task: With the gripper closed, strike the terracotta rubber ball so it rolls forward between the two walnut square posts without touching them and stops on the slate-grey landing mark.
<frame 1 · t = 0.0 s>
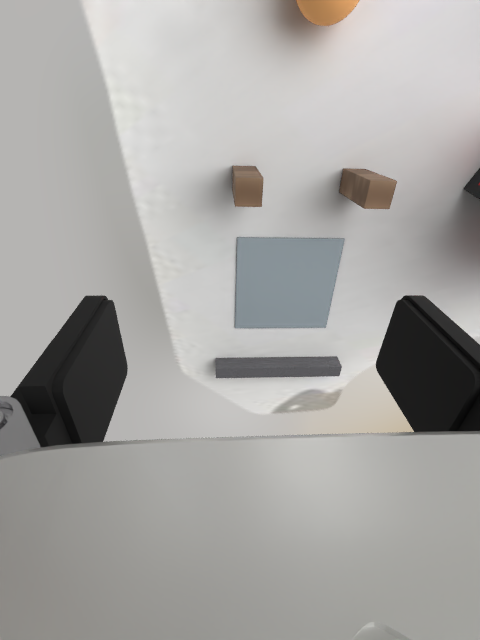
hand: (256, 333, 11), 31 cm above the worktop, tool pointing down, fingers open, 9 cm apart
post 2: (351, 180, 38), on the worktop
post 1: (243, 178, 37), on the worktop
landing mark: (285, 286, 45), on the worktop
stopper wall: (276, 362, 53), on the worktop
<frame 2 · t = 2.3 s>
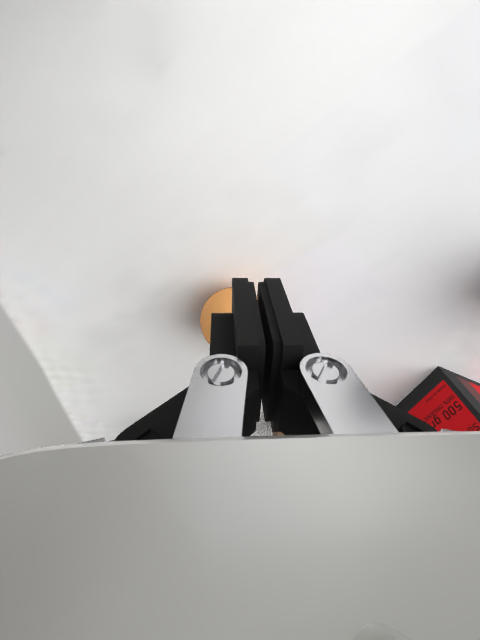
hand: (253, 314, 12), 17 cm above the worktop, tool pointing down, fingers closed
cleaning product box: (457, 407, 42), on the worktop
ball: (233, 320, 29), on the worktop
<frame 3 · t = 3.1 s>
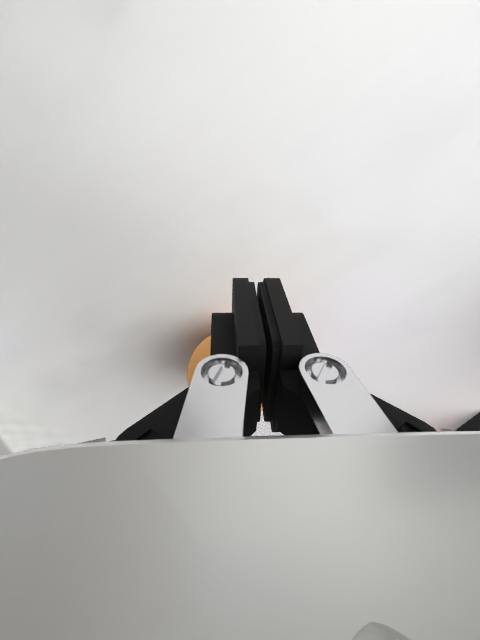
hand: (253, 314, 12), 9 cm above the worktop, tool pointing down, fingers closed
ball: (232, 374, 21), on the worktop
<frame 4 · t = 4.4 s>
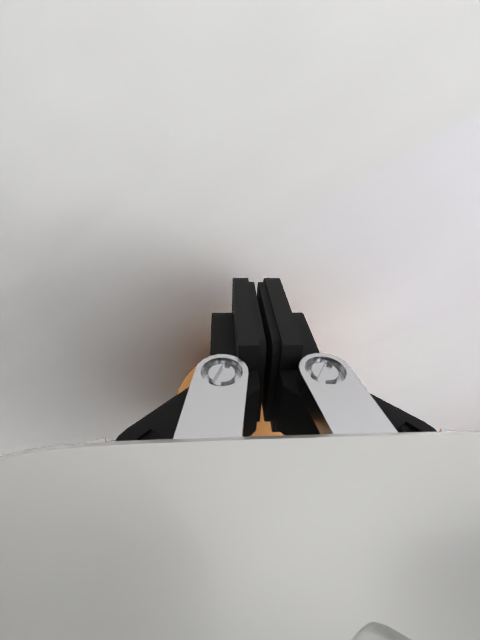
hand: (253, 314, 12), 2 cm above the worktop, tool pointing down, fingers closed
ball: (242, 417, 14), on the worktop
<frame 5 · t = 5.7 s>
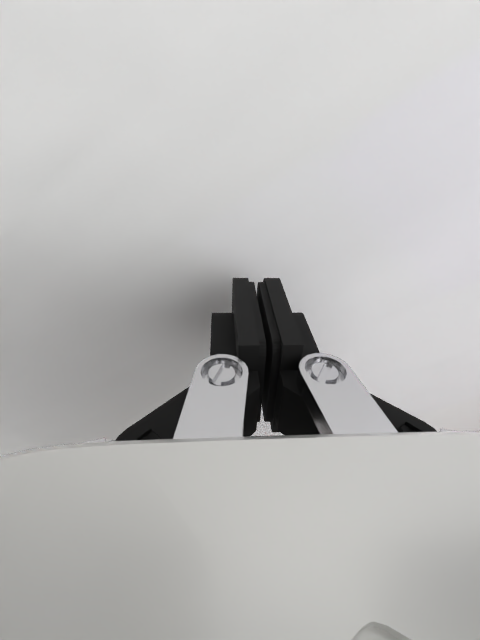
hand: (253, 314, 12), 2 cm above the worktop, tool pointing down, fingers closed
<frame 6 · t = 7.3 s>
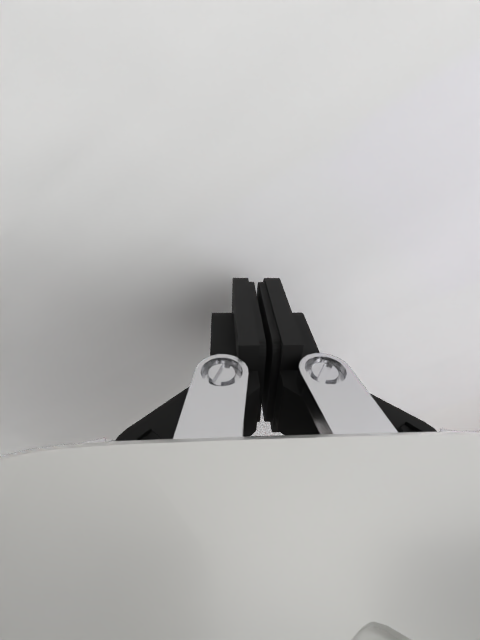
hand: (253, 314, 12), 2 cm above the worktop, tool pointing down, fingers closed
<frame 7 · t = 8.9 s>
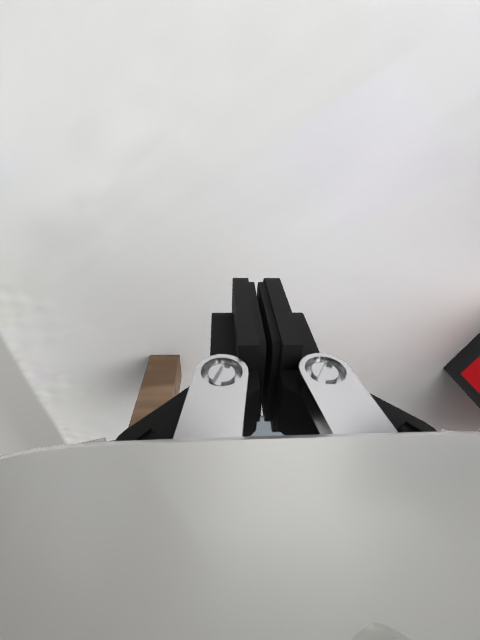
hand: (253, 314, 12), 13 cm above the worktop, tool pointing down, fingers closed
post 1: (166, 366, 30), on the worktop
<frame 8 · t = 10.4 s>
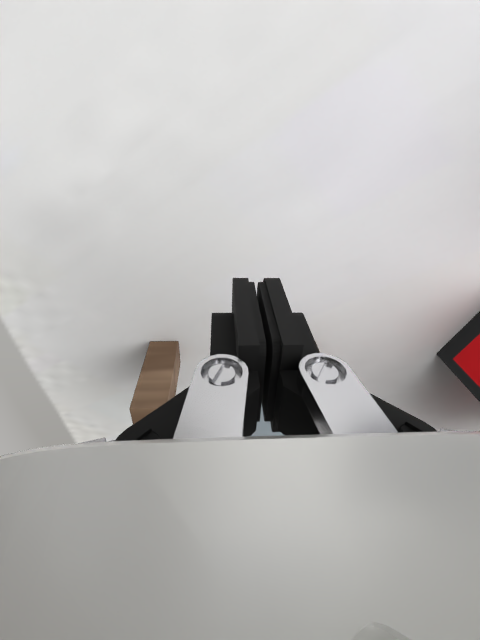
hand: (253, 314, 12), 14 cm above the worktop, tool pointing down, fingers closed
post 1: (165, 352, 30), on the worktop
landing mark: (231, 443, 38), on the worktop
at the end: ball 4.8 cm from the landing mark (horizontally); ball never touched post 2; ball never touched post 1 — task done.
